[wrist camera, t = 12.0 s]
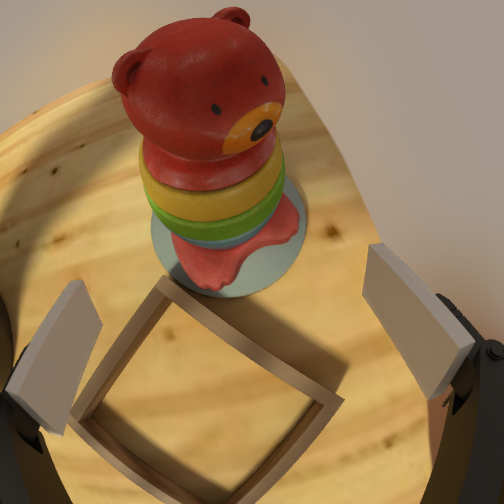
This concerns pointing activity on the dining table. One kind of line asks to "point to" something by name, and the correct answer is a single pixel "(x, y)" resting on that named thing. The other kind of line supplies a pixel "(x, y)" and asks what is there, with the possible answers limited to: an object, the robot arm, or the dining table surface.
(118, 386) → the dining table surface
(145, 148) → the stacking bear
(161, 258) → the pad
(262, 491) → the collar
